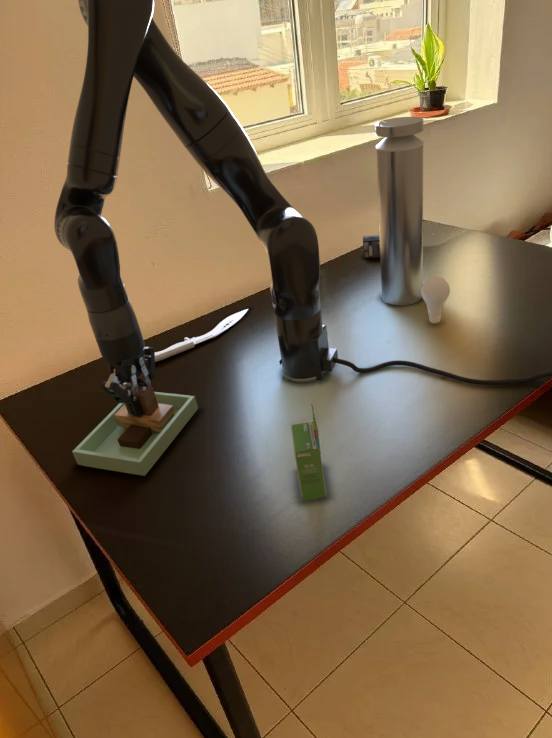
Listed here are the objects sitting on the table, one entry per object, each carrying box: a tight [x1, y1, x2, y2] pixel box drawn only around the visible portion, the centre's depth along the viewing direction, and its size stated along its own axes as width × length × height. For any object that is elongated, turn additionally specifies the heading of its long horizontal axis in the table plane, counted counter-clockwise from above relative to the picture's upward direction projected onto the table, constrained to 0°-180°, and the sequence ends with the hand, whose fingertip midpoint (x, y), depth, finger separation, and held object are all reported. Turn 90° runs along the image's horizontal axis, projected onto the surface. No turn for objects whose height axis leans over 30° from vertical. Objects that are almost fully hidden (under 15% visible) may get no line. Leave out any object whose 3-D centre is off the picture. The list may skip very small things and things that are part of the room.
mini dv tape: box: [362, 234, 380, 259], centre depth 165 cm, size 8×2×6 cm, turn 80°
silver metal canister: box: [374, 116, 425, 307], centre depth 131 cm, size 10×10×40 cm
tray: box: [71, 391, 199, 477], centre depth 106 cm, size 14×20×4 cm
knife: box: [155, 308, 249, 363], centre depth 138 cm, size 30×2×8 cm
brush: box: [114, 386, 175, 433], centre depth 106 cm, size 10×5×8 cm, turn 71°
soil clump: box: [117, 425, 152, 449], centre depth 105 cm, size 4×4×2 cm
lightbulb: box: [421, 276, 451, 325], centre depth 126 cm, size 6×6×11 cm
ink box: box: [290, 402, 327, 501], centre depth 87 cm, size 7×4×13 cm, turn 5°
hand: (143, 409), depth 107 cm, fingers closed on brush, 3 cm apart
